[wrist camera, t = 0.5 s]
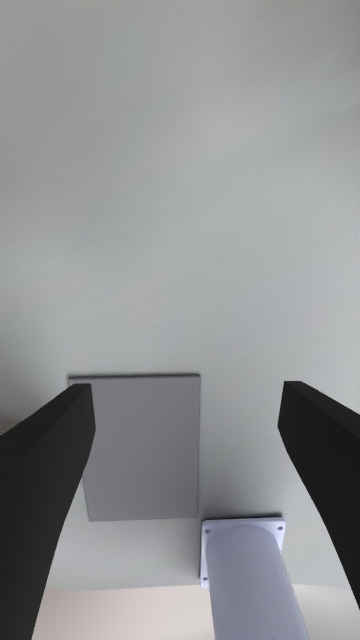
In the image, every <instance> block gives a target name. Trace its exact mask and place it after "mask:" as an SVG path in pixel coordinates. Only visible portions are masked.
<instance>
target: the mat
mask: <svg viewBox="0 0 360 640" xmlns="http://www.w3.org/2000/svg"><path fill="white" fill-rule="evenodd" d="M200 381H201V377H200V375H188V376H140V377H92V378H69V379H68V384H69V387H70V386H71V385H73V384H74V383H91V386H92V396H93V405H94V415H95V424H96V431H95V436H94V440H93V444H92V448H91V452H90V456H89V458H88V461H87V464H86V467H85V469H84V472H83V474H82V476H83V483H84V490H85V496H86V503H87V509H88V516H89V522H94V521H119V520H145V519H170V518H196V517H197V496H198V458H199V419H200Z"/></svg>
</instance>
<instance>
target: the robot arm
mask: <svg viewBox="0 0 360 640" xmlns="http://www.w3.org/2000/svg"><path fill="white" fill-rule="evenodd" d="M278 429H279V432H280V435H281V438H282V440H283V443H284V446H285V448H286V451H287V453H288V455H289V457H290V459H291V461H292V463H293V464H294V466H295V468H296V470H297V472H298V474H299V476H300V478H301V480H302V482H303V483H304V485H305V487H306V489H307V491H308V493H309V495H310V497H311V499H312V500H313V502H314V504H315V506H316V508H317V510H318V512H319V514H320V516H321V518H322V520H323V522H324V524H325V526H326V528H327V530H328V533H329V535H330V538H331V540H332V542H333V545H334V547H335V549H336V552H337V554H338V557H339V559H340V561H341V564H342V566H343V569H344V571H345V574H346V576H347V579H348V581H349V584H350V586H351V589H352V591H353V594H354V596H355V599H356V601H357V604H358V607H359V609H360V414H358V413H356V412H354V411H352V410H351V409H349V408H347V407H345V406H344V405H342V404H340V403H339V402H337V401H335V400H333V399H332V398H330V397H328V396H327V395H325V394H323V393H322V392H320V391H318V390H316V389H315V388H313V387H311V386H309V385H307V384H305V383H303V382H301V381H284V386H283V392H282V399H281V406H280V412H279V419H278ZM95 431H96V424H95V415H94V405H93V396H92V386H91V383H74V384H73V385H71V386H70V387H68V388H67V389H66V390H64V391H63V392H62V393H60V394H59V395H58V396H56V397H55V398H54V399H52V400H51V401H50V402H48V403H47V404H46V405H44V406H43V407H42V408H40V409H39V410H38V411H36V412H35V413H34V414H32V415H31V416H29V417H28V418H26V419H25V420H23V421H22V422H21V423H19V424H18V425H16V426H15V427H13V428H12V429H10V430H9V431H7V432H6V433H4V434H3V435H1V436H0V640H31V639H32V635H33V631H34V627H35V623H36V619H37V615H38V612H39V608H40V604H41V600H42V597H43V593H44V589H45V586H46V582H47V578H48V574H49V571H50V567H51V564H52V560H53V557H54V553H55V550H56V546H57V543H58V539H59V536H60V533H61V530H62V527H63V524H64V521H65V519H66V516H67V514H68V511H69V508H70V506H71V503H72V501H73V498H74V495H75V493H76V490H77V488H78V485H79V482H80V480H81V477H82V474H83V472H84V469H85V467H86V464H87V461H88V458H89V456H90V452H91V448H92V444H93V440H94V436H95ZM285 526H286V522H285V520H284V518H282V517H273V518H248V519H223V520H205V521H204V522H203V523H202V536H201V565H200V585H201V587H203V588H209V590H210V598H211V607H212V616H213V625H214V634H215V640H310V637H309V634H308V631H307V628H306V625H305V622H304V619H303V616H302V614H301V610H300V608H299V605H298V602H297V599H296V596H295V593H294V590H293V587H292V584H291V581H290V578H289V575H288V572H287V569H286V567H285V564H284V561H283V558H282V555H281V549H282V543H283V537H284V532H285Z"/></svg>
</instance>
